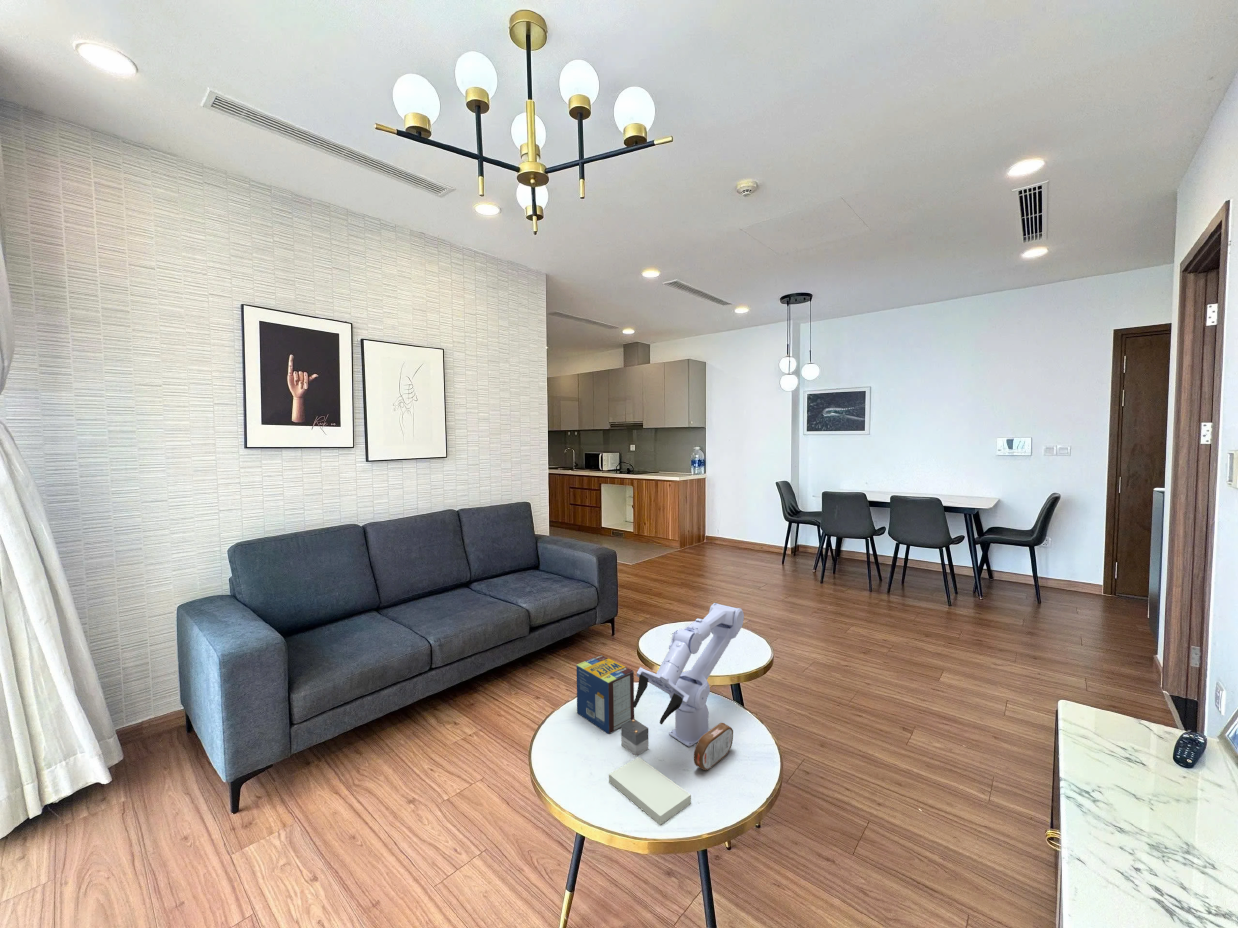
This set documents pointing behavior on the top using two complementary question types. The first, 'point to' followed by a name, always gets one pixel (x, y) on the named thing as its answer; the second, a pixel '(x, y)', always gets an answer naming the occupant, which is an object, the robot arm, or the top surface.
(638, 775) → the sage stand
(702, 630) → the robot arm
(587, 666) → the protein box
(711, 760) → the tin
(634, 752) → the housing
